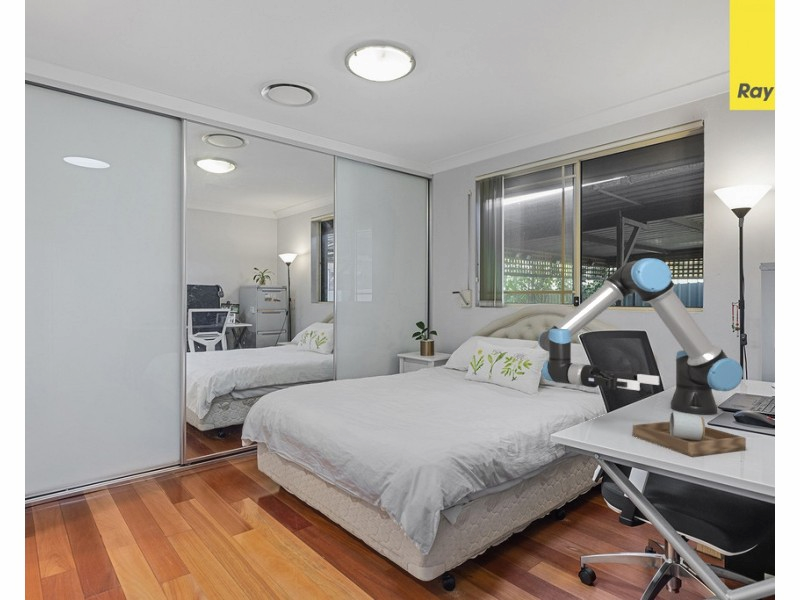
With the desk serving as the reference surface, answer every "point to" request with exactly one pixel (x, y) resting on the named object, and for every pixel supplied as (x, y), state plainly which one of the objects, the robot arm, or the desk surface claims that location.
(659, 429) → the walnut tray
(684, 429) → the ceramic mug
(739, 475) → the desk surface
